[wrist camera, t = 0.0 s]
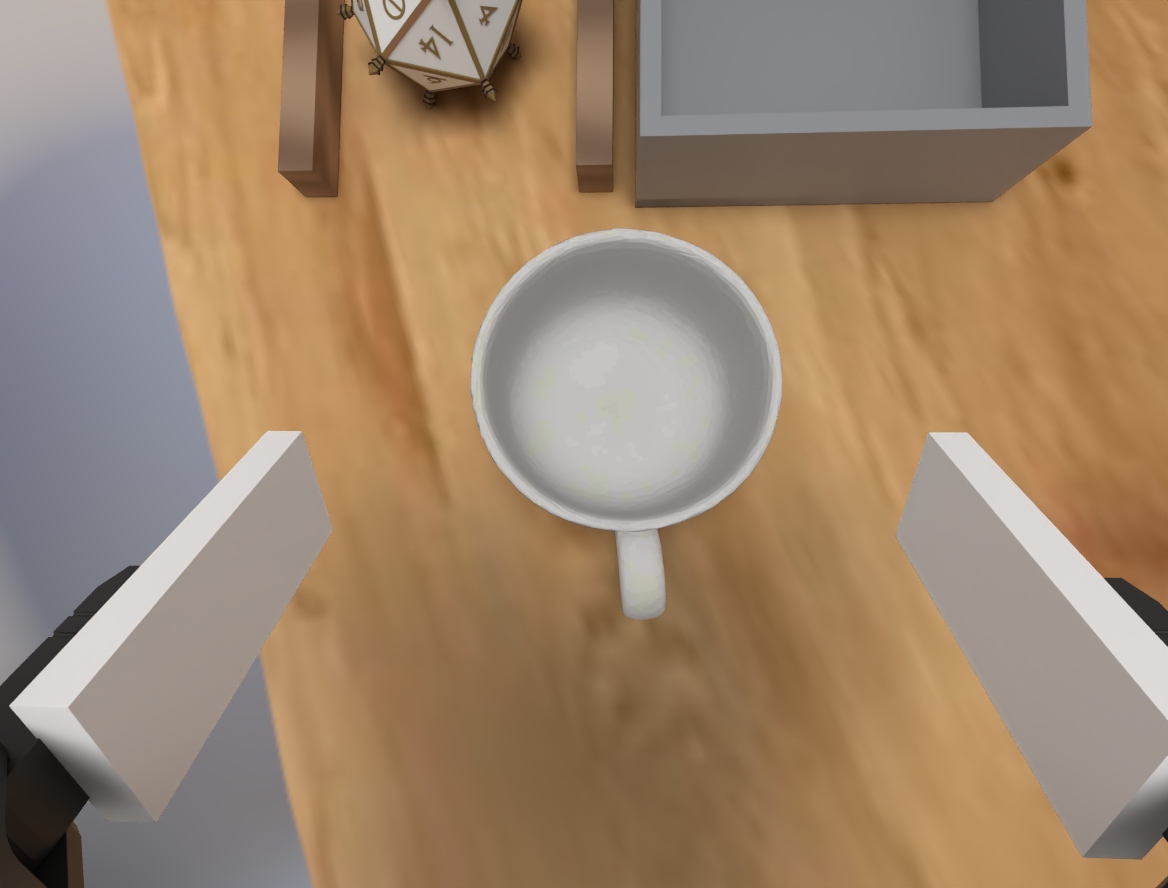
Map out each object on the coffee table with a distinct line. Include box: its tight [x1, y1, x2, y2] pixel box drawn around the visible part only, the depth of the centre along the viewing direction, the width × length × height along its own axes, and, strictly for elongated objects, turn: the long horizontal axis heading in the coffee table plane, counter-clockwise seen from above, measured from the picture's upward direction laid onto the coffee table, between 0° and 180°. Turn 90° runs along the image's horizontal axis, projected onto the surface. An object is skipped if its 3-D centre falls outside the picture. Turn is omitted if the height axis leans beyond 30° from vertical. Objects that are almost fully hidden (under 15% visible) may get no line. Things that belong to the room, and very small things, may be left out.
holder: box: [278, 0, 614, 197], centre depth 29 cm, size 14×15×2 cm
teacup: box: [471, 228, 782, 620], centre depth 25 cm, size 14×11×8 cm
